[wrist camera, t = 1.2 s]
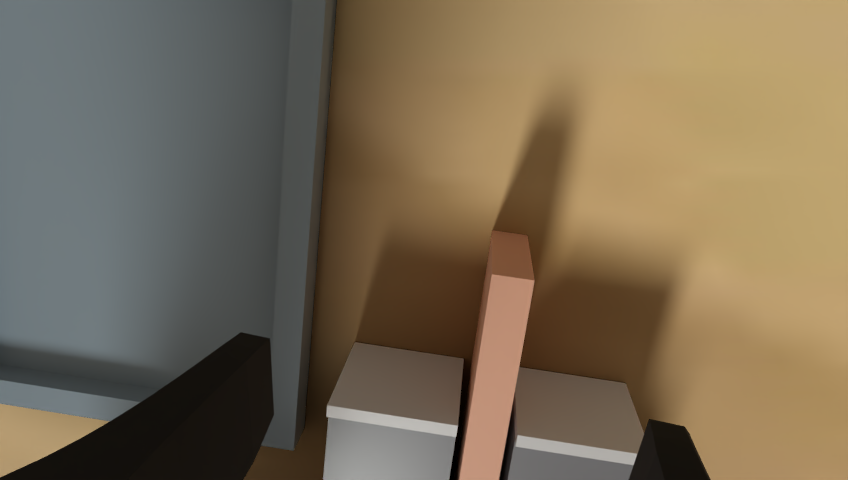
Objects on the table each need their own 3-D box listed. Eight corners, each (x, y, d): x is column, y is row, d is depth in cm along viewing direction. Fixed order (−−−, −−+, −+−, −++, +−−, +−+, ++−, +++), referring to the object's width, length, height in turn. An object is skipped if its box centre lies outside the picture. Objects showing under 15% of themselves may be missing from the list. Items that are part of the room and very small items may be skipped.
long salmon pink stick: (481, 502, 27) (478, 592, 23) (450, 497, 27) (442, 585, 23) (527, 233, 24) (534, 280, 19) (492, 228, 24) (491, 274, 20)
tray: (304, 427, 27) (293, 450, 25) (-21, 376, 27) (-49, 395, 26) (340, -50, 21) (329, -55, 20) (-62, -99, 22) (-101, -107, 21)
